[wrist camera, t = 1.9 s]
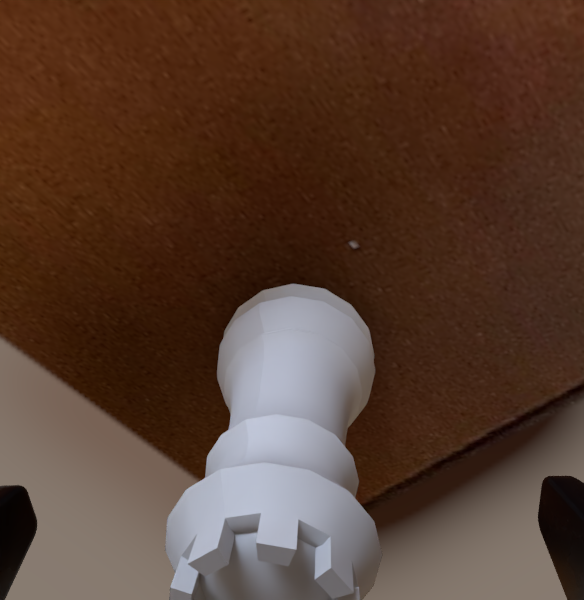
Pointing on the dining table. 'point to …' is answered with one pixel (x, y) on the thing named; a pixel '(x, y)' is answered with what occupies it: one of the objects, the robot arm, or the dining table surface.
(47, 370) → the dining table surface
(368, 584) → the rook chess piece
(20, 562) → the robot arm
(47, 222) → the dining table surface
